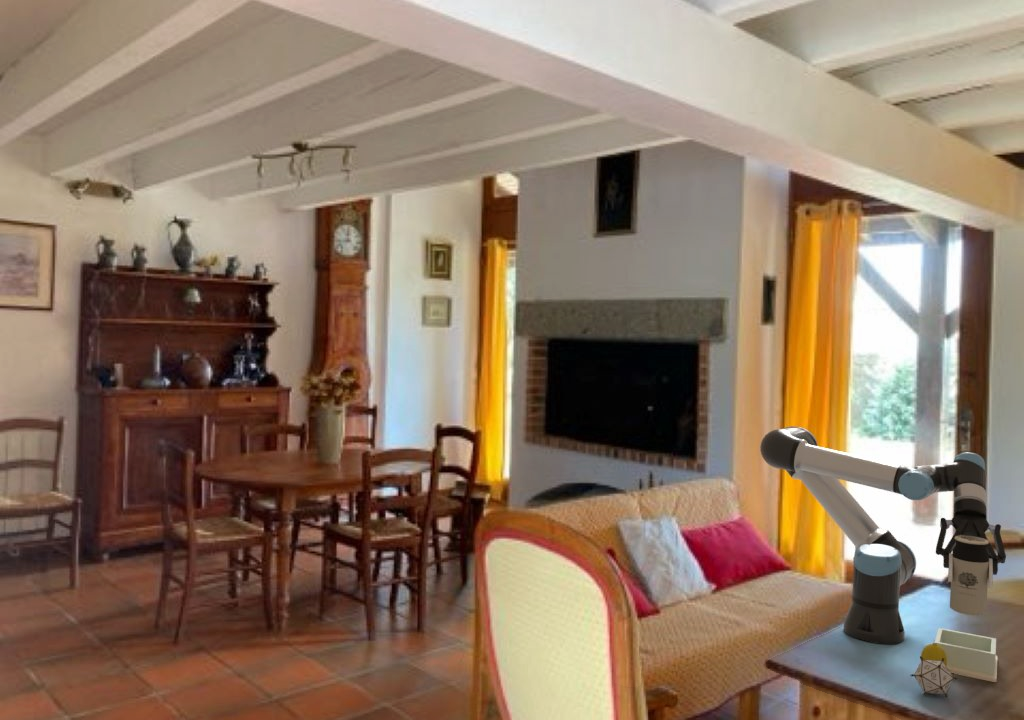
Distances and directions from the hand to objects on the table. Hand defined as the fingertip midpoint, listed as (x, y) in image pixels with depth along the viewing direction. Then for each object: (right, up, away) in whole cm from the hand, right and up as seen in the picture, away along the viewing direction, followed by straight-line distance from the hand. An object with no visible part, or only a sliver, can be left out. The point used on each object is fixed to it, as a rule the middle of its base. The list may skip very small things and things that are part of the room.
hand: (970, 581), depth 205 cm
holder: (0, -21, +4) cm, 22 cm away
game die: (-17, -21, -16) cm, 32 cm away
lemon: (-12, -21, -5) cm, 25 cm away
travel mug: (+1, -8, +3) cm, 9 cm away
